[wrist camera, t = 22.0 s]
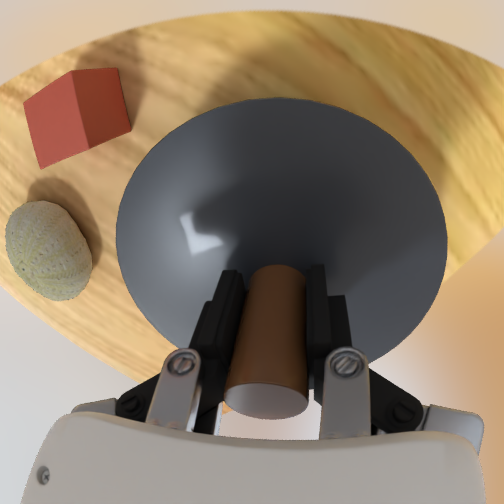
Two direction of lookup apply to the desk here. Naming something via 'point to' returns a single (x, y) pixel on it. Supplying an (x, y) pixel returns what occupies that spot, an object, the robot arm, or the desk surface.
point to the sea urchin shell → (48, 250)
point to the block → (76, 114)
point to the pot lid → (281, 236)
